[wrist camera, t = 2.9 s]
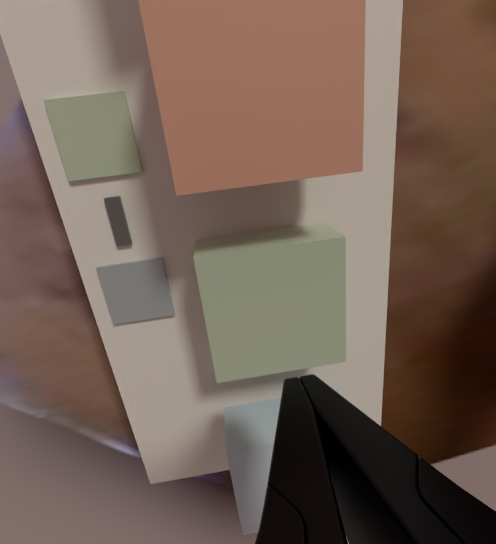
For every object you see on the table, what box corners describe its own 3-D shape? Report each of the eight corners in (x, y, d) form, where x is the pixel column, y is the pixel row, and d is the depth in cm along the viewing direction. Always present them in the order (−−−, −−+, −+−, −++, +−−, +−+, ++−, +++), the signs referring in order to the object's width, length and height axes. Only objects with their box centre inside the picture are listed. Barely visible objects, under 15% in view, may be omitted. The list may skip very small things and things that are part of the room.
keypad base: (371, -288, 11) (430, -447, 8) (359, 406, 23) (381, 445, 20) (-54, -268, 10) (-161, -435, 7) (158, 441, 22) (149, 487, 19)
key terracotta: (331, -25, 10) (366, -75, 8) (334, 167, 12) (362, 171, 10) (147, -8, 10) (127, -55, 7) (183, 186, 12) (176, 196, 9)
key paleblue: (337, 388, 16) (358, 428, 14) (338, 468, 18) (357, 513, 16) (223, 407, 15) (226, 451, 13) (238, 486, 18) (242, 535, 15)
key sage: (324, 222, 14) (345, 236, 12) (327, 332, 16) (345, 361, 14) (196, 240, 14) (193, 258, 11) (216, 349, 16) (216, 383, 14)
